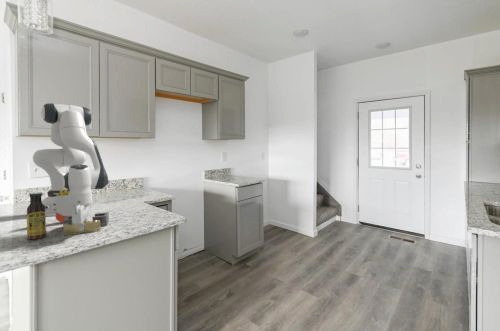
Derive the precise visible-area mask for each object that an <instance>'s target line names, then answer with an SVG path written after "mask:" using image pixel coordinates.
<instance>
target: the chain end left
mask: <svg viewBox="0 0 500 331" xmlns="http://www.w3.org/2000/svg"><path fill="white" fill-rule="evenodd" d="M70 222H72V216H67V217H66V218H65V219H64V220H63V223H62V225H64V224H67V223H70ZM62 228H63V227H62ZM63 231H64V228H63Z"/></svg>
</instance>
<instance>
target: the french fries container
mask: <svg viewBox="0 0 500 331" xmlns="http://www.w3.org/2000/svg"><path fill="white" fill-rule="evenodd" d="M55 204H56V207H55V214H56V216H55V219H56V220H57V221H58V222H60V223H62V224H63V220H64V219H65V218H66V217H67V216H72V208H73V205H70V202H69V191H67V189H65V190H64V192H63V189H62V190H60V195H59V194H56V196H55Z"/></svg>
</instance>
